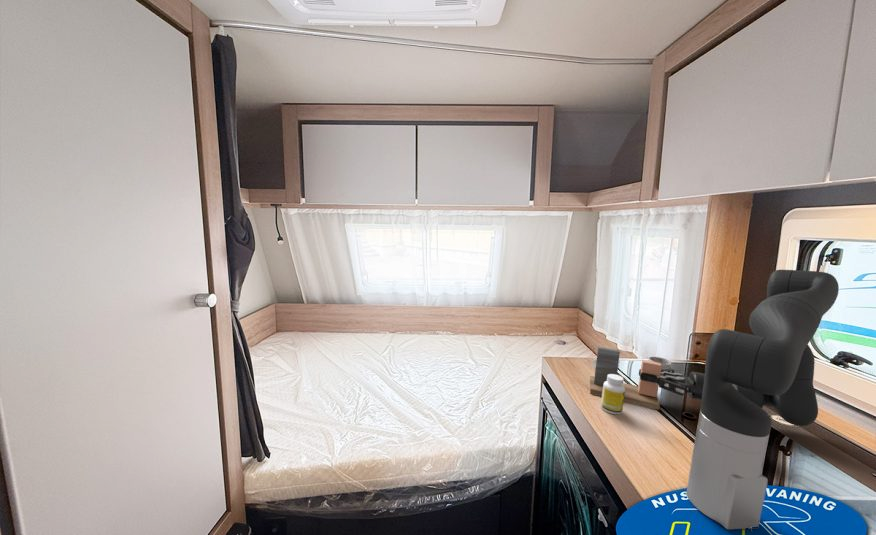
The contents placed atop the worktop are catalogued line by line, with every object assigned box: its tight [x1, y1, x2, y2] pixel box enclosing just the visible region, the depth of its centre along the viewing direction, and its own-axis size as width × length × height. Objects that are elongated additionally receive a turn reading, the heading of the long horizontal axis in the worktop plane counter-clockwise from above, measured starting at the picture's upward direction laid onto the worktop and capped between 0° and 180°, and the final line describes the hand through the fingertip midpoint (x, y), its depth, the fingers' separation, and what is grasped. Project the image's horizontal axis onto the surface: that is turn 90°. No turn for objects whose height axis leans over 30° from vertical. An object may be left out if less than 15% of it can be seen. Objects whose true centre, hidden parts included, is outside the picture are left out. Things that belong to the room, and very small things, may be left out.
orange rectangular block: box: [637, 359, 662, 398], centre depth 96 cm, size 2×5×10 cm, turn 65°
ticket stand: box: [589, 346, 661, 411], centre depth 99 cm, size 10×18×14 cm, turn 65°
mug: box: [647, 356, 673, 369], centre depth 113 cm, size 10×7×7 cm
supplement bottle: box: [600, 374, 625, 415], centre depth 90 cm, size 5×5×10 cm
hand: (640, 374), depth 97 cm, fingers closed on orange rectangular block, 2 cm apart
